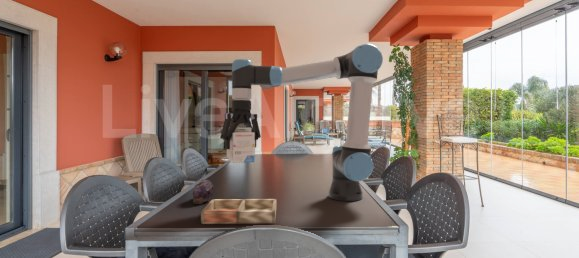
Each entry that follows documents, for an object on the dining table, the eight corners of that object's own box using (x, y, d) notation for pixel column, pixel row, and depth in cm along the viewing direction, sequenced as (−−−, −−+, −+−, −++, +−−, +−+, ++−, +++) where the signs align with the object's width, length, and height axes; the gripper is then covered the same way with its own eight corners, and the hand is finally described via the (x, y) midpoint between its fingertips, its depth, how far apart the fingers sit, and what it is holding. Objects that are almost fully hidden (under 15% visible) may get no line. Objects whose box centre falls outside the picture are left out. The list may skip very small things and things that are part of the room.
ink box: (248, 159, 133) (249, 127, 133) (254, 162, 125) (255, 127, 125) (228, 160, 130) (228, 126, 129) (232, 163, 122) (233, 127, 121)
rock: (189, 208, 134) (214, 206, 135) (187, 188, 132) (213, 187, 133) (193, 196, 145) (216, 195, 146) (192, 178, 143) (215, 177, 145)
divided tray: (276, 209, 127) (276, 198, 127) (274, 223, 110) (274, 210, 110) (212, 209, 127) (212, 198, 127) (200, 223, 110) (200, 211, 109)
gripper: (258, 101, 137) (258, 154, 138) (210, 98, 122) (210, 157, 122) (270, 101, 131) (269, 155, 132) (221, 98, 116) (220, 160, 117)
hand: (241, 156), depth 127 cm, fingers closed on ink box, 10 cm apart
